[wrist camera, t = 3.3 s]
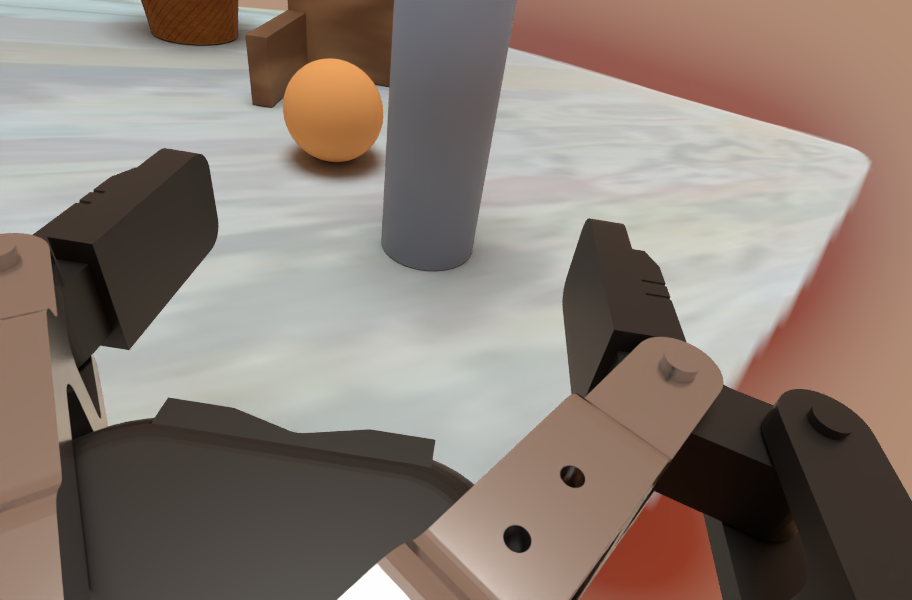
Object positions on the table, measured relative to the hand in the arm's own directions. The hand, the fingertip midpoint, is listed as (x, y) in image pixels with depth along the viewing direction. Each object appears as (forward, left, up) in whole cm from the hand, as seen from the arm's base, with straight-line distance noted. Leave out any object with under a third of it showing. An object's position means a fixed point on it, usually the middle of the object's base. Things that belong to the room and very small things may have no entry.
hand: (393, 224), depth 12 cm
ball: (-6, +17, -4) cm, 19 cm away
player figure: (0, +10, -7) cm, 12 cm away
